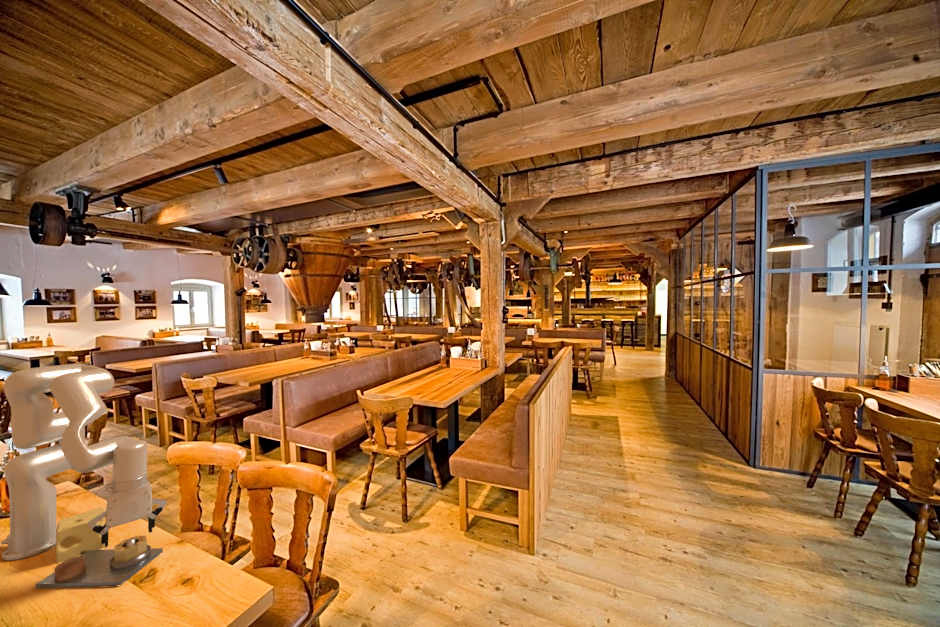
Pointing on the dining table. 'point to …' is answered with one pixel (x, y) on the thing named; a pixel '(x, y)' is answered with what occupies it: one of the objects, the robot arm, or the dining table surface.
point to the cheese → (77, 535)
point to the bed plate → (98, 571)
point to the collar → (130, 549)
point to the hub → (132, 562)
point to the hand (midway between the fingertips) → (128, 537)
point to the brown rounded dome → (70, 568)
